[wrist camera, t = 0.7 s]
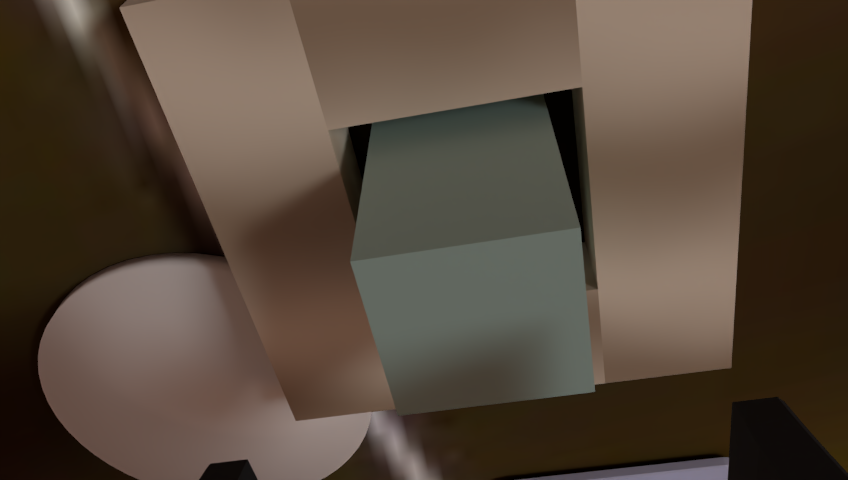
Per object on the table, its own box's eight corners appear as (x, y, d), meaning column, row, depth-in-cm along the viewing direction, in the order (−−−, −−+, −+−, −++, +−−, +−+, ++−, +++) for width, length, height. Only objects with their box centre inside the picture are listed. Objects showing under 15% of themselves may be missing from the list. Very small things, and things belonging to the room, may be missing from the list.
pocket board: (708, 317, 21) (731, 367, 20) (305, 370, 23) (295, 421, 21) (723, -137, 15) (758, -119, 13) (151, -22, 16) (119, 7, 15)
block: (555, 223, 20) (594, 391, 15) (407, 245, 20) (397, 415, 15) (540, 83, 18) (580, 227, 13) (373, 112, 18) (350, 261, 13)
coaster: (403, 467, 26) (402, 482, 25) (128, 498, 27) (123, 512, 26) (326, 227, 20) (323, 240, 19) (-18, 280, 21) (-29, 294, 21)
